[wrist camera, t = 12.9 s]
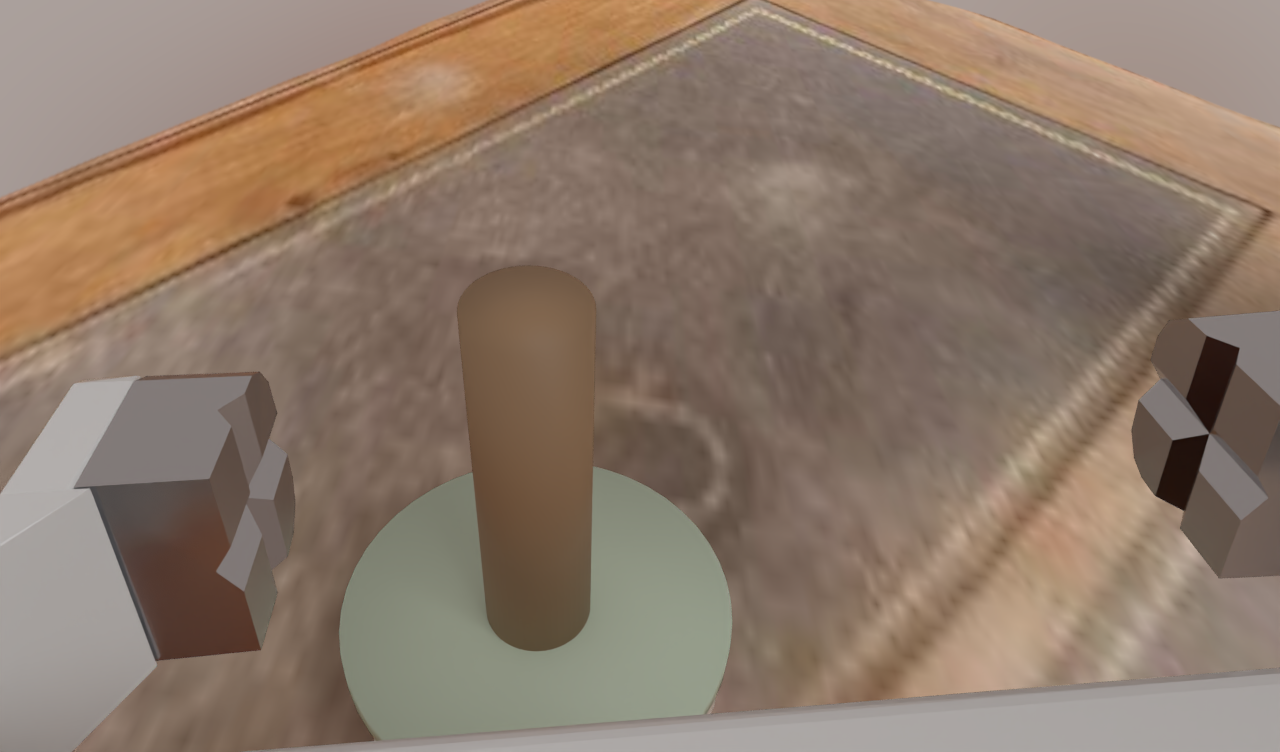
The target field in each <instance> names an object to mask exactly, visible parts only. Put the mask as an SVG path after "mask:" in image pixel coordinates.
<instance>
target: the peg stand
mask: <svg viewBox="0 0 1280 752" xmlns="http://www.w3.org/2000/svg"><path fill="white" fill-rule="evenodd" d="M457 318H458V329H459V339H460V349H461V359H462V369H463V379H464V390H465V400H466V410H467V420H468V430H469V440H470V451H471V461H472V471H473V472H471V473H468V474H466V475H463V476H460V477H458V478H455V479H452V480H450V481H448V482H446V483H444V484H442V485H440V486H438V487H436V488H434V489H432V490H430V491H429V492H427V493H426V494H424V495H423V496H421V497H419V498H418V499H416V500H415V501H413V502H412V503H411V504H409V505H408V506H407V507H406V508H404V509H403V510H402V511H401V512H399V513H398V514H397V515H396V516H395V517H394V518H393V519H392V520H391V521H390V522H389V523H388V524H387V525H386V526H385V527H384V528H383V529H382V530H381V531H380V532H379V533H378V534H377V536H376V537H375V538H374V540H373V541H372V542H371V543H370V545H369V546H368V547H367V549H366V550H365V552H364V554H363V555H362V557H361V559H360V560H359V562H358V564H357V566H356V567H355V569H354V572H353V574H352V577H351V579H350V581H349V584H348V586H347V589H346V593H345V597H344V601H343V604H342V608H341V616H340V627H339V641H340V655H341V660H342V664H343V669H344V673H345V677H346V681H347V685H348V688H349V692H350V694H351V697H352V699H353V702H354V704H355V707H356V709H357V712H358V714H359V715H360V717H361V719H362V720H363V722H364V724H365V725H366V727H367V729H368V730H369V732H370V734H371V735H372V736H373V737H374V738H375V739H376V741H380V740H392V739H405V738H417V737H430V736H442V735H455V734H467V733H479V732H492V731H504V730H517V729H529V728H542V727H554V726H566V725H579V724H591V723H604V722H616V721H628V720H641V719H653V718H666V717H678V716H691V715H703V714H707V712H708V711H709V709H710V708H711V706H712V704H713V702H714V700H715V697H716V695H717V693H718V690H719V688H720V685H721V683H722V680H723V676H724V672H725V668H726V664H727V660H728V655H729V649H730V643H731V632H732V610H731V600H730V595H729V590H728V586H727V581H726V578H725V576H724V573H723V570H722V568H721V565H720V562H719V560H718V558H717V557H716V555H715V553H714V551H713V549H712V548H711V546H710V544H709V542H708V541H707V540H706V538H705V537H704V536H703V534H702V533H701V532H700V530H699V529H698V528H697V526H696V525H695V524H694V523H693V522H692V521H691V520H690V519H689V518H688V517H687V516H686V515H685V514H684V513H683V512H682V511H681V510H680V509H679V508H677V507H676V506H675V505H674V504H672V503H671V502H670V501H669V500H667V499H666V498H665V497H663V496H662V495H660V494H658V493H657V492H655V491H654V490H652V489H650V488H649V487H647V486H645V485H643V484H641V483H639V482H637V481H635V480H633V479H631V478H629V477H626V476H623V475H620V474H618V473H615V472H612V471H609V470H606V469H602V468H598V467H594V466H593V442H594V390H595V339H596V304H595V300H594V297H593V295H592V293H591V292H590V290H589V289H588V288H587V287H586V286H585V285H584V284H583V283H582V282H581V281H579V280H578V279H577V278H575V277H573V276H571V275H570V274H567V273H565V272H563V271H560V270H556V269H553V268H548V267H542V266H515V267H508V268H504V269H500V270H497V271H494V272H491V273H489V274H486V275H484V276H482V277H481V278H479V279H477V280H476V281H474V282H473V283H472V284H471V285H470V286H469V287H468V288H467V289H466V290H465V291H464V292H463V294H462V296H461V297H460V300H459V302H458V306H457Z"/></svg>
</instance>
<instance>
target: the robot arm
mask: <svg viewBox="0 0 1280 752" xmlns="http://www.w3.org/2000/svg"><path fill="white" fill-rule="evenodd" d="M1151 362H1152V364H1153V365H1154V367H1155V369H1156V371H1157V373H1158V375H1159V377H1160V380H1159V381H1158V382H1157V383H1156V384H1155V385H1154V386H1153V387H1152V388H1151V389H1150V390H1149V391H1148V392H1147V393H1146V394H1145V395H1144V396H1142V397H1141V398H1140V399H1139V401H1138V405H1137V410H1136V414H1135V418H1134V422H1133V426H1132V441H1133V452H1134V459H1135V462H1136V464H1137V467H1138V469H1139V472H1140V474H1141V477H1142V479H1143V480H1144V481H1145V483H1146V484H1147V485H1148V487H1149V488H1150V490H1151V491H1152V492H1153V494H1154V495H1155V496H1156V497H1158V498H1160V499H1162V500H1164V501H1166V502H1168V503H1170V504H1172V505H1173V506H1175V507H1177V508H1179V509H1181V510H1183V511H1184V513H1183V517H1182V521H1181V526H1180V529H1181V530H1182V531H1183V533H1184V534H1185V535H1186V537H1187V538H1188V539H1189V540H1190V542H1191V543H1192V544H1193V545H1194V547H1195V548H1196V549H1197V551H1198V552H1199V553H1200V554H1201V556H1202V557H1203V558H1204V560H1205V561H1206V562H1207V563H1208V565H1209V566H1210V567H1211V569H1212V570H1213V571H1214V572H1215V574H1216V575H1217V576H1218V578H1240V577H1261V576H1280V311H1272V312H1260V313H1248V314H1236V315H1224V316H1212V317H1200V318H1189V319H1178V320H1169V321H1168V323H1167V324H1166V326H1165V327H1164V328H1163V330H1162V331H1161V333H1160V334H1159V335H1158V337H1157V341H1156V344H1155V347H1154V350H1153V353H1152V357H1151ZM276 416H277V411H276V407H275V403H274V400H273V396H272V393H271V389H270V386H269V382H268V381H267V380H266V378H265V377H264V376H263V375H262V374H261V373H260V372H239V373H214V374H189V375H164V376H145V377H143V378H142V377H139V376H129V377H115V378H102V379H89V380H84V381H80V382H77V383H74V384H73V385H72V386H71V388H70V389H69V391H68V392H67V394H66V395H65V397H64V398H63V400H62V401H61V403H60V404H59V406H58V407H57V409H56V410H55V412H54V413H53V415H52V416H51V418H50V419H49V421H48V422H47V424H46V425H45V427H44V428H43V430H42V431H41V433H40V434H39V436H38V437H37V439H36V440H35V442H34V443H33V445H32V446H31V448H30V449H29V451H28V452H27V454H26V456H25V457H24V459H23V460H22V462H21V463H20V465H19V466H18V468H17V469H16V471H15V472H14V474H13V475H12V477H11V478H10V480H9V481H8V483H7V484H6V486H5V487H4V489H3V490H2V492H1V493H0V752H72V751H73V750H74V749H75V748H76V747H77V746H78V745H79V744H80V743H81V742H82V741H83V740H84V739H85V738H86V737H87V736H88V735H89V734H90V733H91V732H92V731H93V730H94V729H95V728H96V727H97V726H98V725H99V724H100V723H101V722H102V721H103V720H104V719H105V718H106V717H107V716H108V715H109V714H110V713H111V712H112V711H113V710H114V709H115V708H116V707H117V706H118V705H119V704H120V703H121V702H122V701H123V700H124V699H125V698H126V697H127V696H128V695H129V694H130V693H131V692H132V691H133V690H134V689H135V688H136V687H137V686H138V685H139V684H140V683H141V682H142V681H143V680H144V679H145V678H146V677H147V676H148V675H149V674H150V673H151V672H152V671H153V670H154V669H155V668H156V667H157V663H156V661H160V660H170V659H180V658H189V657H199V656H209V655H219V654H229V653H239V652H249V651H258V650H261V649H262V645H263V642H264V638H265V635H266V631H267V628H268V624H269V621H270V618H271V614H272V611H273V607H274V604H275V600H276V597H277V593H278V592H277V589H276V585H275V581H274V577H273V574H272V569H273V568H274V567H276V566H277V565H278V564H279V563H280V562H282V561H283V560H284V559H285V558H286V557H288V553H289V549H290V545H291V541H292V537H293V533H294V518H295V494H294V485H293V476H292V472H291V468H290V463H289V459H288V455H287V453H285V452H284V451H283V450H282V449H281V448H279V447H278V446H277V445H276V444H275V443H274V442H272V441H271V440H270V439H269V437H270V434H271V431H272V428H273V425H274V422H275V419H276ZM243 752H1280V668H1270V669H1257V670H1245V671H1232V672H1220V673H1207V674H1195V675H1182V676H1170V677H1157V678H1145V679H1133V680H1120V681H1108V682H1095V683H1083V684H1070V685H1058V686H1045V687H1033V688H1021V689H1009V690H997V691H985V692H973V693H960V694H948V695H936V696H924V697H912V698H900V699H888V700H876V701H864V702H852V703H839V704H827V705H815V706H802V707H790V708H778V709H765V710H753V711H740V712H728V713H715V714H703V715H691V716H678V717H666V718H653V719H641V720H628V721H616V722H604V723H591V724H579V725H566V726H554V727H542V728H529V729H517V730H504V731H492V732H479V733H467V734H455V735H442V736H430V737H417V738H405V739H392V740H380V741H368V742H355V743H343V744H330V745H318V746H305V747H293V748H281V749H268V750H256V751H243Z"/></svg>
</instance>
